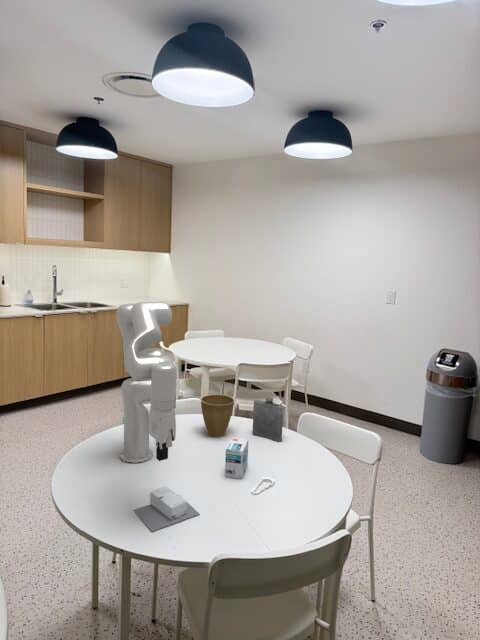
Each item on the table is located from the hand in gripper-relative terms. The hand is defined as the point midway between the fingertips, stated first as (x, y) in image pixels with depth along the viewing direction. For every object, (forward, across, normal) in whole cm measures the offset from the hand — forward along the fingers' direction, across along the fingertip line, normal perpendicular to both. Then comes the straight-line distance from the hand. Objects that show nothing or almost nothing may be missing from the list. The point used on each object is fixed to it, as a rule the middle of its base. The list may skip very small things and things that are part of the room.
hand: (162, 458), depth 139 cm
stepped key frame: (+17, +8, +35) cm, 40 cm away
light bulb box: (+17, -6, +34) cm, 38 cm away
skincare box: (+14, -3, 0) cm, 14 cm away
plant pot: (+18, -39, +47) cm, 63 cm away
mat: (+16, +4, 0) cm, 17 cm away
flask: (+18, -24, +64) cm, 70 cm away
